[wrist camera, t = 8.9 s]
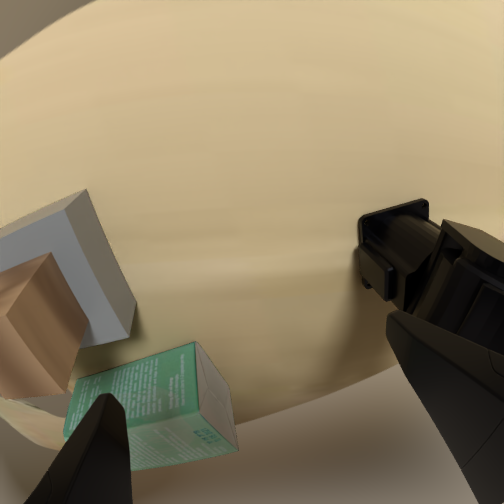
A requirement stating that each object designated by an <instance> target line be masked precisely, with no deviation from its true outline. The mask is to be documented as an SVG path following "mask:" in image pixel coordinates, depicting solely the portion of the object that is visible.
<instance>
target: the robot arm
mask: <svg viewBox="0 0 504 504" xmlns="http://www.w3.org/2000/svg"><path fill="white" fill-rule="evenodd" d="M423 203H424V205H423ZM422 205H423V207H422ZM366 220H368V222H367V223H366V224H364V223H365V221H366ZM359 229H360V245H359V262H360V273H361V275H362V282H363V285H364V287H365V288H366V289H370V288H374V289H375V291H376V292H377V293H378V294H379V295H380V296H381V297H382V299H383V300H385V301H386V302H387V301H390V300H391V301H392V302H393V303H394V305H395V306H396V307H397V308H398V309H399V310H396V311H393V312H391V313H389V314H388V315H387V320H386V337H387V339H388V341H389V343H390V345H391V348H392V350H393V352H394V354H395V356H396V358H397V360H398V362H399V364H400V366H401V368H402V370H403V372H404V374H405V376H406V378H407V379H408V381H409V383H410V384H411V386H412V387H413V389H414V390H415V392H416V394H417V395H418V397H419V398H420V400H421V402H422V404H423V405H424V407H425V408H426V410H427V412H428V413H429V415H430V417H431V418H432V420H433V422H434V423H435V425H436V427H437V428H438V430H439V432H440V434H441V435H442V437H443V439H444V440H445V442H446V444H447V446H448V447H449V449H450V451H451V453H452V454H453V456H454V458H455V460H456V462H457V463H458V465H459V467H460V469H461V471H462V473H463V474H464V476H465V478H466V480H467V482H468V484H469V486H470V488H471V490H472V492H473V493H474V495H475V497H476V499H477V501H478V503H479V504H502V503H503V502H504V243H503V242H502V241H500V240H498V239H496V238H495V237H493V236H491V235H489V234H488V233H486V232H484V231H482V230H480V229H476V228H473V227H470V226H466V225H463V224H460V223H456V222H453V221H449V220H446V219H443V221H442V224H441V227H440V226H439V225H437V224H436V223H434V222H433V221H431V220H429V202H428V201H427V200H425V199H423V198H421V199H418V200H414V201H411V202H407V203H404V204H400V205H397V206H393V207H390V208H386V209H383V210H379V211H376V212H372V213H369V214H365V215H363V216H362V217H361V218H360V220H359ZM24 504H133V501H132V486H131V465H130V448H129V440H128V432H127V423H126V414H125V410H124V407H123V406H122V405H121V403H120V402H119V401H118V400H117V399H116V398H115V396H114V395H113V394H112V393H102V394H99V395H98V397H97V398H96V399H95V401H94V402H93V404H92V405H91V406H90V408H89V409H88V411H87V412H86V414H85V415H84V417H83V418H82V419H81V421H80V422H79V424H78V425H77V427H76V428H75V430H74V431H73V433H72V434H71V436H70V437H69V438H68V440H67V441H66V443H65V444H64V446H63V447H62V449H61V450H60V452H59V453H58V455H57V456H56V458H55V460H54V461H53V462H52V464H51V466H50V467H49V469H48V471H47V472H46V473H45V475H44V476H43V478H42V479H41V481H40V482H39V484H38V485H37V487H36V488H35V489H34V491H33V492H32V493H31V495H30V496H29V497H28V499H27V500H26V501H25V503H24Z"/></svg>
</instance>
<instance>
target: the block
mask: <svg viewBox="0 0 504 504" xmlns="http://www.w3.org/2000/svg"><path fill="white" fill-rule="evenodd" d="M88 321H89V319H88V318H87V316H86V314H85V313H84V311H83V309H82V308H81V306H80V304H79V302H78V301H77V299H76V297H75V296H74V294H73V292H72V290H71V288H70V287H69V285H68V283H67V281H66V279H65V277H64V276H63V274H62V272H61V270H60V268H59V266H58V264H57V262H56V260H55V258H54V256H53V254H52V252H49V253H46V254H44V255H41V256H38V257H36V258H34V259H31V260H29V261H26V262H24V263H21V264H19V265H17V266H14V267H12V268H9V269H7V270H5V271H2V272H0V394H1V395H2V396H3V397H4V398H5V399H16V398H27V397H38V396H48V395H56V394H64V393H66V389H67V386H68V382H69V379H70V376H71V372H72V369H73V366H74V363H75V360H76V356H77V353H78V350H79V347H80V344H81V341H82V338H83V336H84V333H85V330H86V327H87V324H88Z"/></svg>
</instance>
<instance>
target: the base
mask: <svg viewBox="0 0 504 504" xmlns="http://www.w3.org/2000/svg"><path fill="white" fill-rule="evenodd" d="M49 252H52V254H53V256H54V258H55V260H56V262H57V264H58V266H59V268H60V270H61V272H62V274H63V276H64V277H65V279H66V281H67V283H68V285H69V287H70V288H71V290H72V292H73V294H74V296H75V297H76V299H77V301H78V302H79V304H80V306H81V308H82V309H83V311H84V313H85V314H86V316H87V318H88V319H89V321H88V324H87V327H86V330H85V333H84V336H83V338H82V341H81V344H80V347H79V349H82V348H86V347H91V346H95V345H99V344H104V343H108V342H112V341H117V340H121V339H125V338H129V336H130V331H131V326H132V321H133V316H134V311H135V306H136V300H135V298H134V296H133V294H132V292H131V290H130V288H129V286H128V284H127V282H126V280H125V278H124V276H123V274H122V272H121V269H120V267H119V265H118V263H117V261H116V259H115V257H114V254H113V252H112V250H111V248H110V245H109V243H108V241H107V239H106V236H105V234H104V232H103V229H102V227H101V225H100V222H99V220H98V217H97V215H96V212H95V210H94V207H93V205H92V202H91V200H90V197H89V195H88V192H87V189H85V190H82V191H80V192H77V193H75V194H73V195H70V196H68V197H66V198H63V199H61V200H59V201H56V202H54V203H52V204H50V205H48V206H45V207H43V208H41V209H39V210H37V211H35V212H33V213H30V214H28V215H26V216H24V217H22V218H20V219H18V220H16V221H14V222H12V223H10V224H8V225H6V226H4V227H2V228H0V272H2V271H5V270H7V269H9V268H12V267H14V266H17V265H19V264H21V263H24V262H26V261H29V260H31V259H34V258H36V257H38V256H41V255H44V254H46V253H49Z"/></svg>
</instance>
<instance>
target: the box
mask: <svg viewBox="0 0 504 504" xmlns="http://www.w3.org/2000/svg"><path fill="white" fill-rule="evenodd" d="M102 393H112V394H113V395H114V396H115V398H116V399H117V400H118V401H119V402H120V403H121V405H122V406H123V407H124V410H125V414H126V423H127V432H128V440H129V448H130V465H131V471H135V470H143V469H150V468H156V467H164V466H170V465H176V464H181V463H186V462H191V461H196V460H201V459H206V458H211V457H216V456H220V455H224V454H229V453H232V452H236V451H239V448H238V442H237V436H236V430H235V423H234V417H233V410H232V403H231V395H230V389H229V387H228V385H227V383H226V381H225V380H224V379H223V377H222V376H221V374H220V373H219V371H218V370H217V369H216V367H215V366H214V364H213V363H212V361H211V360H210V358H209V357H208V356H207V354H206V353H205V351H204V350H203V349H202V347H201V346H200V345H199V344H198V343H197V342H196V341H195V342H192V343H189V344H186V345H183V346H180V347H177V348H174V349H171V350H168V351H165V352H162V353H159V354H156V355H152V356H149V357H146V358H143V359H140V360H137V361H134V362H132V363H129V364H125V365H122V366H119V367H116V368H113V369H110V370H107V371H104V372H100V373H97V374H94V375H90V376H87V377H83V378H80V379H77V381H76V384H75V388H74V392H73V395H72V398H71V401H70V404H69V407H68V411H67V415H66V420H65V425H64V429H63V434H64V439H65V441H67V440H68V438H69V437H70V436H71V434H72V433H73V431H74V430H75V428H76V427H77V425H78V424H79V422H80V421H81V419H82V418H83V417H84V415H85V414H86V412H87V411H88V409H89V408H90V406H91V405H92V404H93V402H94V401H95V399H96V398H97V397H98V395H99V394H102Z"/></svg>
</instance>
